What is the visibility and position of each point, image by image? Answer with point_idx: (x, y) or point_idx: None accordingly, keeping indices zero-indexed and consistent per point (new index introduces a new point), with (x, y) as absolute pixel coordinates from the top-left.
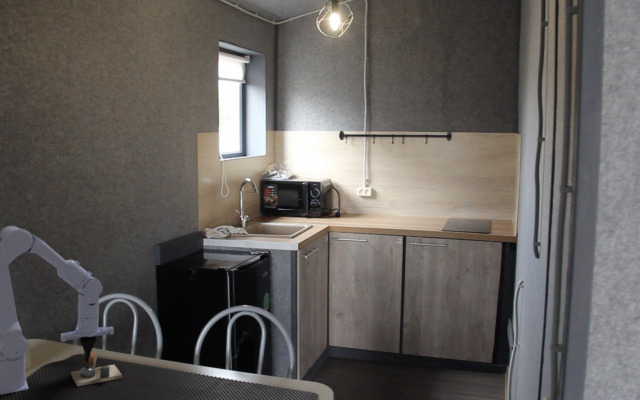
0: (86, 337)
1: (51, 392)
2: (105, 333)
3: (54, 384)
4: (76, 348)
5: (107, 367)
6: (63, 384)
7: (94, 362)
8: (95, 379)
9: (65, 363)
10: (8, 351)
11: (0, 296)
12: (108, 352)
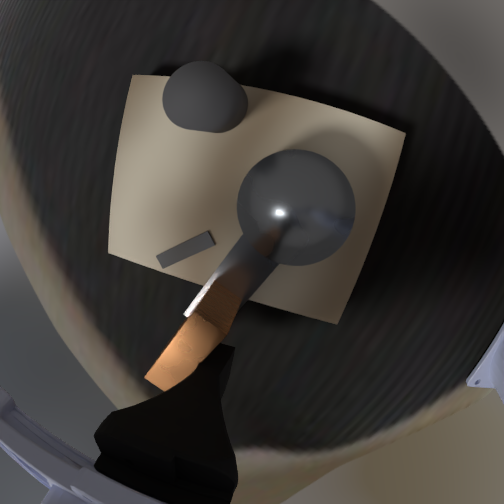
0: (174, 497)
1: (499, 182)
2: (30, 427)
3: (447, 266)
4: None
5: (179, 86)
6: (425, 232)
7: (194, 307)
8: (290, 97)
9: (271, 428)
10: None
11: None
12: (110, 394)
